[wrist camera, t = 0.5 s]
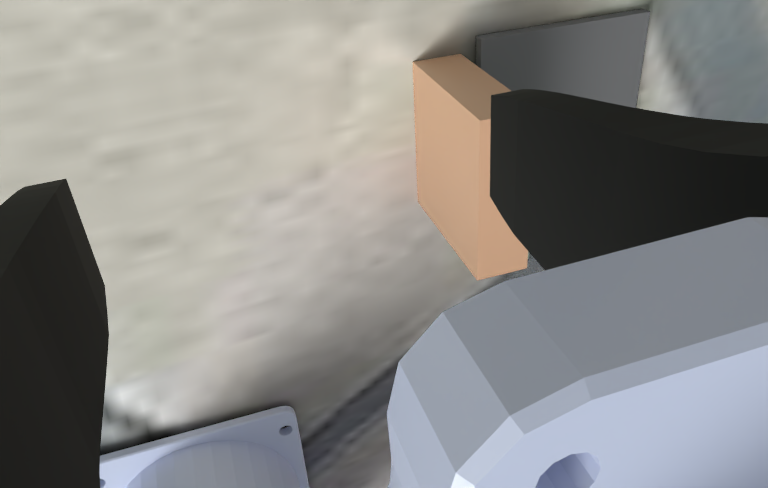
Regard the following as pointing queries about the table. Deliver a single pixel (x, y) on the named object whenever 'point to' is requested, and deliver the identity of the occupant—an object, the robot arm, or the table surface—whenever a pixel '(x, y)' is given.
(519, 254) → the tile
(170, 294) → the table surface
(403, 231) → the table surface
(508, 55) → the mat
